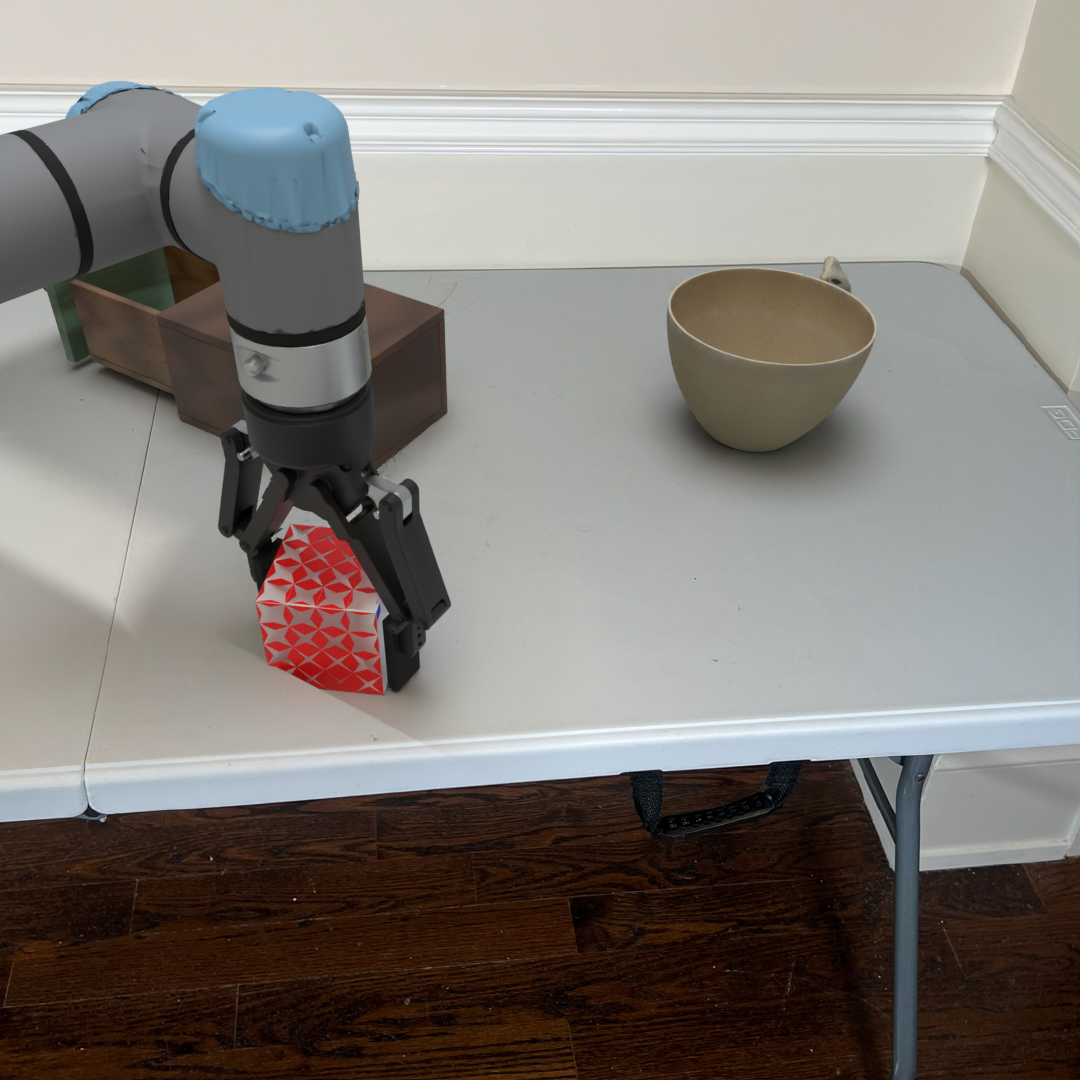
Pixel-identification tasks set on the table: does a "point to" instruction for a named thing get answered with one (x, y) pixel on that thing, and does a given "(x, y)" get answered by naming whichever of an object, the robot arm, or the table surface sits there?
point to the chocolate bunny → (835, 274)
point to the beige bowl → (765, 352)
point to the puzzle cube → (322, 614)
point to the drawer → (127, 310)
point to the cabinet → (395, 348)
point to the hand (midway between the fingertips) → (340, 646)
